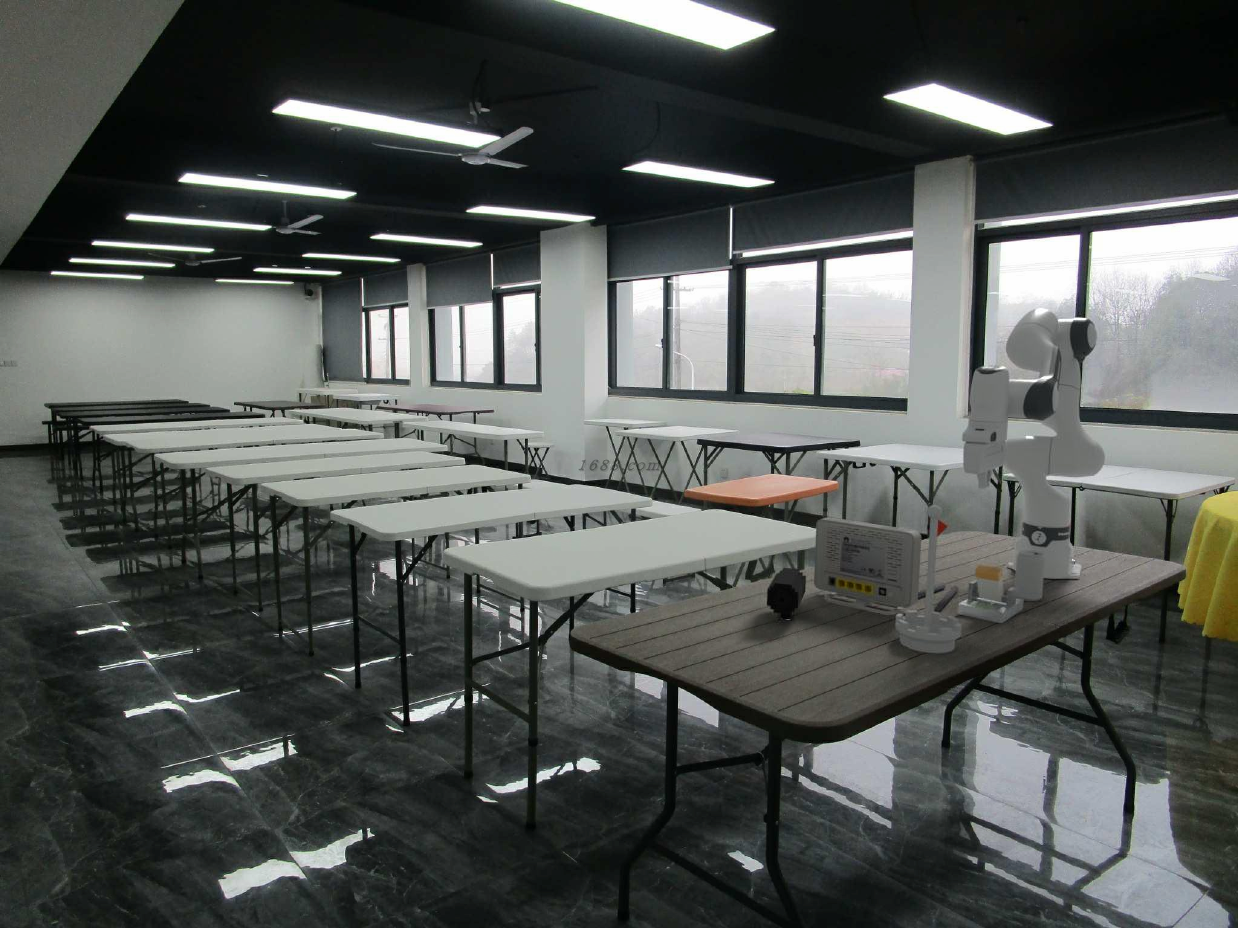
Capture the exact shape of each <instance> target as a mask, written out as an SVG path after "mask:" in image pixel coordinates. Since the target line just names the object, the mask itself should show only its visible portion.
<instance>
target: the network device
mask: <svg viewBox="0 0 1238 928" xmlns="http://www.w3.org/2000/svg"><path fill="white" fill-rule="evenodd" d="M815 527H816V528H815V549H814V550H815V551H814V572H813V573H814V576H813V585H814V586H815V589H818V590H821V591H824V592H830V593H828V594H826V595H824V596H823V597H824V598H823V599H824V601H825V600H826V601H825V602H827V601H829V602H828V603H831V602H832V604H835V603H836V605H839V604H842V605H841V606H843V607H844V606H845V607H848V606H849V608H852V607H855V608H854V609H858V610H861V609H862V610H861V611H865V610H867V611H866V612H870V613H874V612H875V613H876V614H878V613H880V614H879V615H884V616H896V615H897V613H899V612H900V613H902V612H903V611H904V609H908V608H910V607H913V606H914V605H916V604H917V603H918V600H919V598H918V592H919V590H920V589H919V586H920V570H921V569H920V568H921V553H922V552H921V549H922V534H921V533H920V532H919V531H918V530H915V529H908V528H902V527H895V526H889V525H881V524H876V523H875V524H874V523H869V522H863V521H858V520H857V521H856V520H850V519H842V518H836V517H831V516H828V517H825V518H821V519H818V520H817V521H816V526H815ZM836 595H838V596H843V595H846V596H845V597H848V598H852V597H853V598H852V599H855V601H853V602H847V601H843V600H842V601H841V600H838V599H833V598H835V597H837V596H836ZM834 596H835V597H834ZM832 597H833V598H832ZM829 598H830V599H829ZM872 604H879V605H885V606H888V607H893V608H894V609H892V610H881V609H878V608H873V607H869V606H870V605H872ZM865 606H866V607H865Z"/></svg>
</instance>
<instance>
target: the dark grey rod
mask: <svg viewBox="0 0 1238 928" xmlns="http://www.w3.org/2000/svg"><path fill="white" fill-rule="evenodd" d="M958 590H959V587H958V586H957V585H954V586H952V587H951V588H950V590H949V591H948V592H947V593H946V594H945V595H944V596H943V598H941V600H939V602H938V603H937V605H935V607H933V612H938V613H941V612H940V611H941V610H943V609H944V607H945V606H946V604H947V603H949V601H950V600H951V599H952V598H953V596H954V595H955V594H956V593H957V592H958Z"/></svg>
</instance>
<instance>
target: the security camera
mask: <svg viewBox="0 0 1238 928" xmlns="http://www.w3.org/2000/svg"><path fill="white" fill-rule="evenodd" d="M803 574H804V573H803V572H802V571H801V570H800V568H793V567H792V568H791V567H783V568H782V569H781V570H779V572H777V573H775V576H774V577H773V579H772V581H771V582H770V584H769V585H768V587H767V588H766V589H767V591H766V606H767V607H769V609H770V610H772V611H773V614H778V615H780V616H779V619H780V618H782V619H790V618H791V619H792V617H793V615H792V614H793V613H794V612H795V611H796V609H799V607H800V605H801V602H802V600H803V598H804V595H805V594H806V589H807V588H806V585H807V584H806V583H807V582H806V581H807V576H806V575H803ZM791 616H792V617H791ZM791 619H790V620H791Z"/></svg>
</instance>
